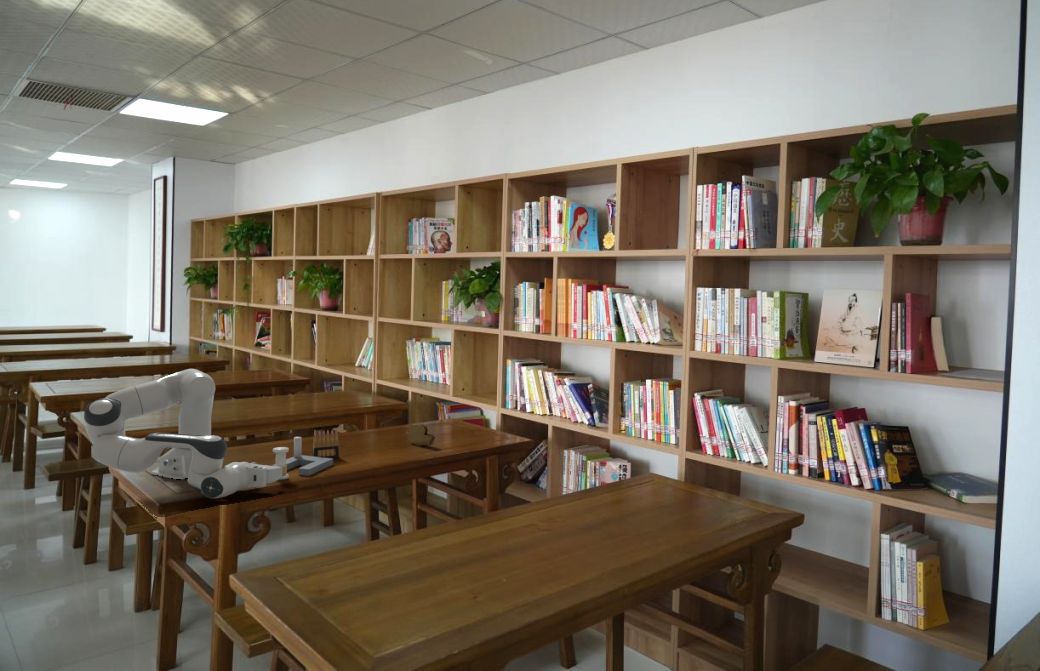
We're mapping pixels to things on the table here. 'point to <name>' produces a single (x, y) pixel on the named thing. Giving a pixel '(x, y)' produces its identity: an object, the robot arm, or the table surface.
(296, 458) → the notched board
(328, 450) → the ammunition clip
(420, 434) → the wooden carving
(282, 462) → the bobbin
